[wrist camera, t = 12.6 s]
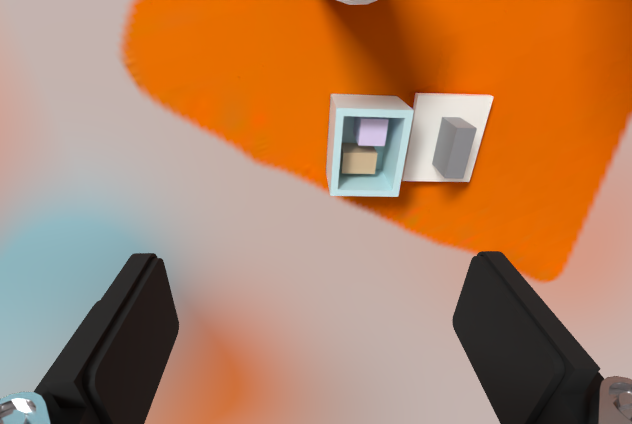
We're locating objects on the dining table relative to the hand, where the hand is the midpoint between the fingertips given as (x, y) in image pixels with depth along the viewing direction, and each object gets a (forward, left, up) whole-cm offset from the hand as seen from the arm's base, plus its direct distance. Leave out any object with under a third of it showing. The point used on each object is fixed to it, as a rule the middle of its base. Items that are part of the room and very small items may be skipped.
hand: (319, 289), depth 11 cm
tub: (+6, +7, -34) cm, 35 cm away
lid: (+6, +18, -34) cm, 39 cm away
